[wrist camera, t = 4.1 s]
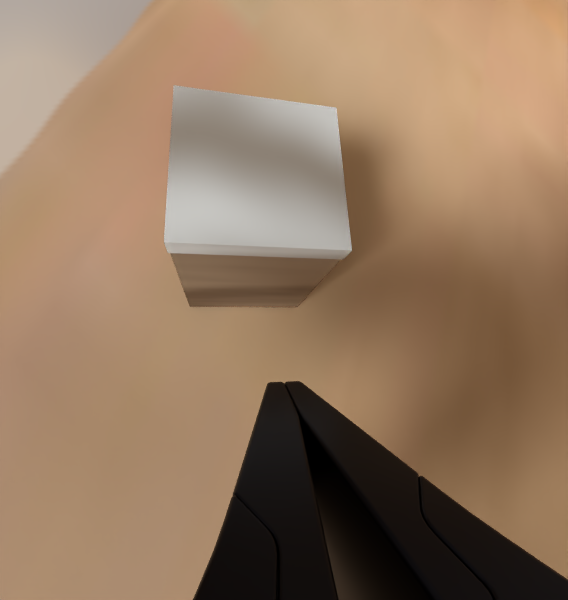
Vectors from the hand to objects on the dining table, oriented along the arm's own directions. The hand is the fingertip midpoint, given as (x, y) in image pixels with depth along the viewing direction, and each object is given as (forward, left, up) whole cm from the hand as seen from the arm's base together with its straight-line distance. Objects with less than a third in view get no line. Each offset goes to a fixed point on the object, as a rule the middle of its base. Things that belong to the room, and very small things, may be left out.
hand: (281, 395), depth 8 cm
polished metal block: (+8, 0, -9) cm, 12 cm away
